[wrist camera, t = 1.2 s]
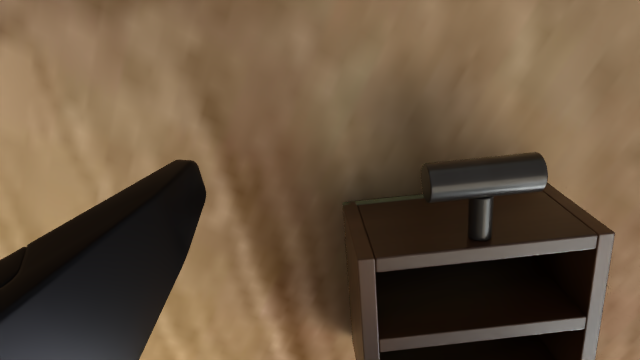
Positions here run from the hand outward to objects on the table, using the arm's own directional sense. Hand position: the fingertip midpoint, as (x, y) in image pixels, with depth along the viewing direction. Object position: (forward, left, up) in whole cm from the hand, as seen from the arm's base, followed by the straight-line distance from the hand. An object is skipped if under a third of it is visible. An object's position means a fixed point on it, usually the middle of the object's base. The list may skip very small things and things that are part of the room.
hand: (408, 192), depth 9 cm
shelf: (-10, -8, -17) cm, 21 cm away
